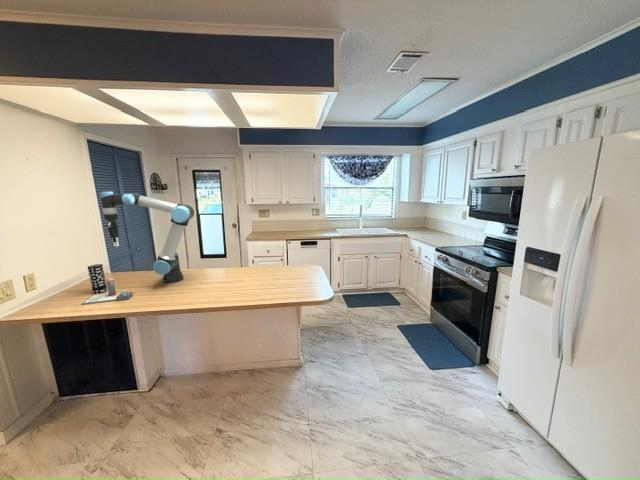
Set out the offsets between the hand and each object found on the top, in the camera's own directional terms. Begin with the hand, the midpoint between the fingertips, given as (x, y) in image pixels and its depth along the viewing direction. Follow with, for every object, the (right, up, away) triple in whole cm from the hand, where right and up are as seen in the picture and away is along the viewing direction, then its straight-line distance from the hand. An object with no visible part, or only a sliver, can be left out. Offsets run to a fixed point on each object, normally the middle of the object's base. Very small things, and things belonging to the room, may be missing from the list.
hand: (116, 246), depth 194 cm
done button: (+13, -35, -10) cm, 38 cm away
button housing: (+13, -36, -9) cm, 39 cm away
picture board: (-2, -36, -9) cm, 37 cm away
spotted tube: (-15, -34, +4) cm, 37 cm away
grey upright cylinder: (+1, -34, -5) cm, 35 cm away
